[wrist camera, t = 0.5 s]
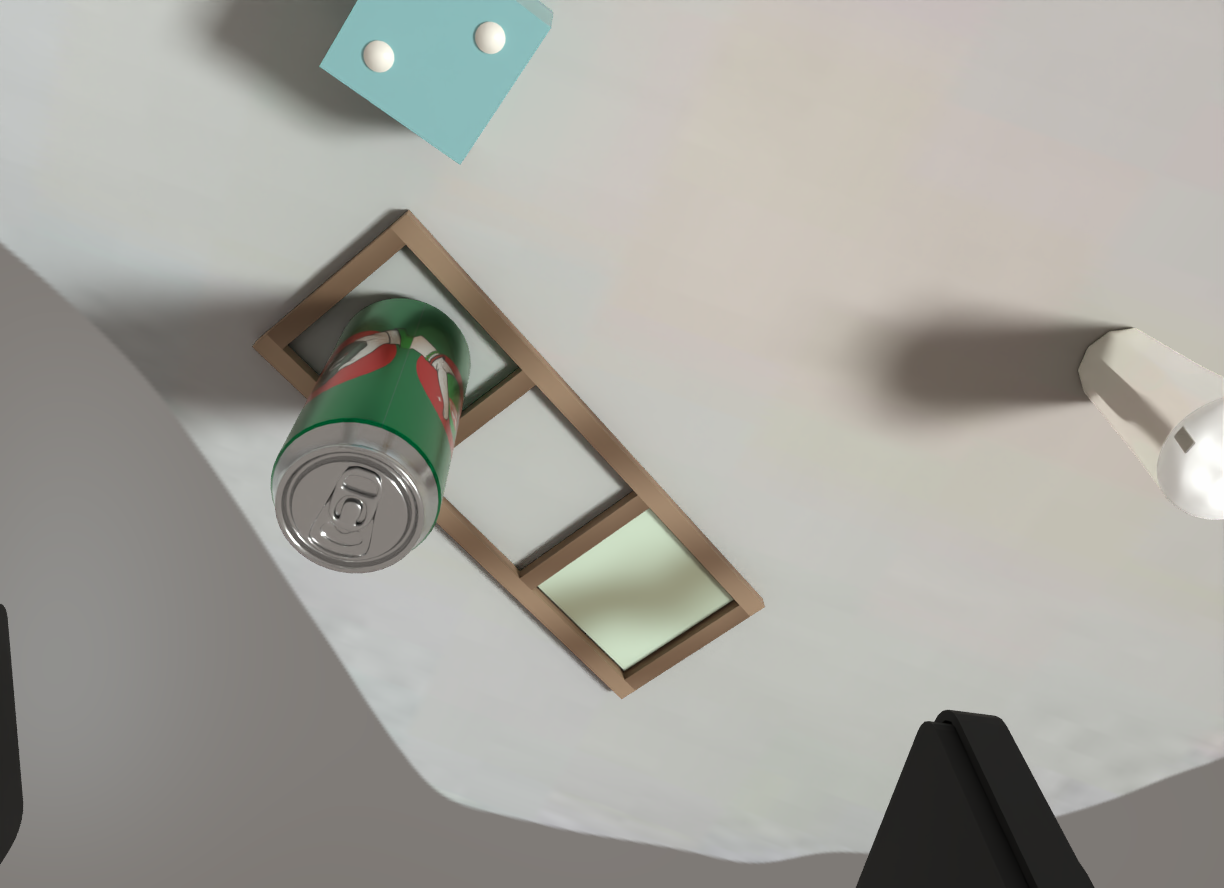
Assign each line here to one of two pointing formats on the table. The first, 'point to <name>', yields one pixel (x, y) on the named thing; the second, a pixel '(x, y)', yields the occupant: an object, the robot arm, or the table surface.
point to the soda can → (374, 439)
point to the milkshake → (1162, 415)
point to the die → (438, 61)
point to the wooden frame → (600, 550)
